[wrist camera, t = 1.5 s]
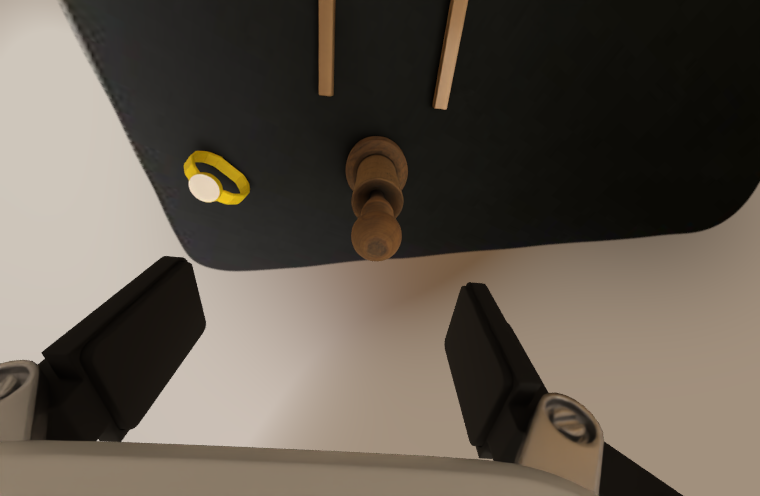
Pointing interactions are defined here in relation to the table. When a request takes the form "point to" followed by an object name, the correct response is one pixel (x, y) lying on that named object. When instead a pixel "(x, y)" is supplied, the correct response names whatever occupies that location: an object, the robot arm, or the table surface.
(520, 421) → the robot arm
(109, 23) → the table surface
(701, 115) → the table surface
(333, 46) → the frame
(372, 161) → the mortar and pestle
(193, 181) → the watch
